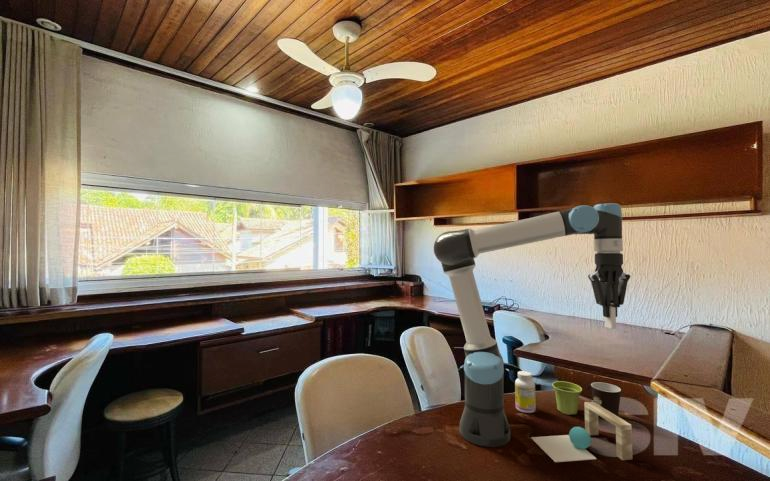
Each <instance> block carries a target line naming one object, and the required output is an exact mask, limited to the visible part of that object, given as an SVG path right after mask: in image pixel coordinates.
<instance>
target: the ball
mask: <svg viewBox="0 0 770 481" xmlns="http://www.w3.org/2000/svg"><path fill="white" fill-rule="evenodd" d="M568 435H569V438H570V441H571V442H572V444H573V445H574V446H576V447H578V448H580V449H587V448H589V447H590V445H591V444H592V438H591V435H589V433H588V432H587V431H586V430H585V427H584V428H583V427H581V426H573V427H572V428H571V429H570V430H569V433H568Z"/></svg>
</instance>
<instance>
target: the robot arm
mask: <svg viewBox="0 0 770 481" xmlns="http://www.w3.org/2000/svg"><path fill="white" fill-rule="evenodd" d="M572 235H594V236H593V239H594V240H593V241H594V242H593V244H594V246H593V247H594V248H593V249H594V252H596V253H595V254H594V264H595V270H594V272H593V273H592V274H588V276H587V278H588V279H589V281H590V282H591V287H592V291H593V295H594V298H595V303H596V305H600V306H602V316H603V317H604V327H605V328H608V329H611V330H613V329H617V317H618V308H621V306H623V305H624V303H625V299H626V298H625V297H626V292H627V287H628V282H629V281H630V278H631V275H630V274H628V273H626V272H624V269H623V268H622V266H623V265H624V254H623V253H622V251H623V250H624V248H623V246H624V245H623V242H624V241H623V212H622V206H621V205H620V204H619V203H615V202H614V203H613V202H609V203H597V204H595V205H593V206H590V205H587V204H586V205H585V204H584V205H577V206H574V207H572V208H569V209H563V210H561V211H560V210H559V211H555V212H550V213H546V214H541V215H537V216H533V217H529V218H524V219H519V220H515V221H511V222H505V223H502V224H497V225H493V226H489V227H484V228H480V229H472V228H465V229H458V230H449V231H445V232H442V233H441V234H439V235H438V236H437V237H436V238H435V240H434V243H433V253H434V256H435V258H436V259H437V260H438V261H439V262H440V263H441V267H442V270H443V273H444V274H445V275H447V276H448V277H449V281H450V284H451V285H450V286H451V288H452V292H453V295H454V300H455V304H456V308H457V311H458V315H459V319H460V322H461V327H462V330H463V333H464V336H465V341H466V342H465V344H464V346H463V350H464V354H465V359H464V364H463V371H464V408H463V412H462V415H461V417H460V421H459V434H460V435H461V437H462V438H463V439H464V440H466V442H467V441H468V442H469V443H472V444H474V445H477V446H480V447H487V448H495V447H501V446H505V445H507V444H509V442H510V440H511V428H510V424H509V422H508V418H507V416H506V414H505V403H504V401H505V398H504V396H505V395H504V393H505V392H504V373H505V368H504V367H505V366H504V365H505V364H504V358H503V355H502V354H501V352H500V350H499V346H498V341H497V340H496V339H494V338H493V337H492V336H491V333H490V329H489V327H488V322H487V318H486V315H485V311H484V307H483V303H482V300H481V296H480V293H479V289H478V286H477V282H476V281H477V280H476V278H475V274H474V269H475V267H476V262H475V258H477V257H478V256H479V255H480V254H484V253H489V252H494V251H499V250H505V249H508V248H513V247H519V246H523V245H527V244H532V243H537V242H542V241H546V240H552V239H555V238H561V237H565V236H567V237H568V236H572Z"/></svg>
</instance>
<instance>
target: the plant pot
mask: <svg viewBox="0 0 770 481" xmlns="http://www.w3.org/2000/svg"><path fill="white" fill-rule="evenodd" d="M551 386H552V388H553V391H554V393H555V400H556V408H557V410H558V411H559V412H560V413H562V414H564V415H568V416H569V415H577V413H578V408H579V401H580V395H581V393H582V391H583V388H582V387H581V386H580V385H578V384H575V383H573V382H569V381H563V380H562V381H561V380H559V381H554V382H552V384H551Z"/></svg>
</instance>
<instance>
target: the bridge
mask: <svg viewBox="0 0 770 481" xmlns="http://www.w3.org/2000/svg"><path fill="white" fill-rule="evenodd" d="M583 407H584V429H585V430H586V431H587V432H588V433H589V435H590V436H599V432H600V431H599V418H598V415H599V416H601V417H602V418H604V419H605V420H604V421H606V420H607V422H608V423H610V424H612V425H613V426H614V427H615V443H616V444H615V446H616V447H615V448H616V451H615V452H616V457H617V458H619V459H620V460H621V461H630V460H633V459H634V458H633V435H632V434H633V433H632V432H633V431H632V430H633V429H632V427H633V426H632V424H631V423H629V422H627V420H624V419H623V418H621V417H620V416H619V415H618V416H616V415H614V414H613V413H611V412H609V411H608V410H606V409H605V408H603V407H601V406H600V405H598V404H596V403H595V402H594V401H584V406H583Z"/></svg>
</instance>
